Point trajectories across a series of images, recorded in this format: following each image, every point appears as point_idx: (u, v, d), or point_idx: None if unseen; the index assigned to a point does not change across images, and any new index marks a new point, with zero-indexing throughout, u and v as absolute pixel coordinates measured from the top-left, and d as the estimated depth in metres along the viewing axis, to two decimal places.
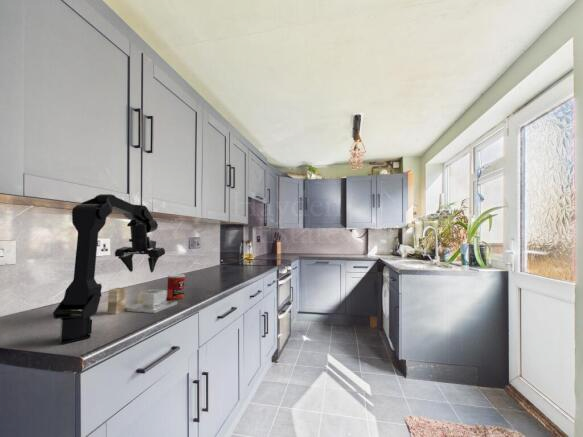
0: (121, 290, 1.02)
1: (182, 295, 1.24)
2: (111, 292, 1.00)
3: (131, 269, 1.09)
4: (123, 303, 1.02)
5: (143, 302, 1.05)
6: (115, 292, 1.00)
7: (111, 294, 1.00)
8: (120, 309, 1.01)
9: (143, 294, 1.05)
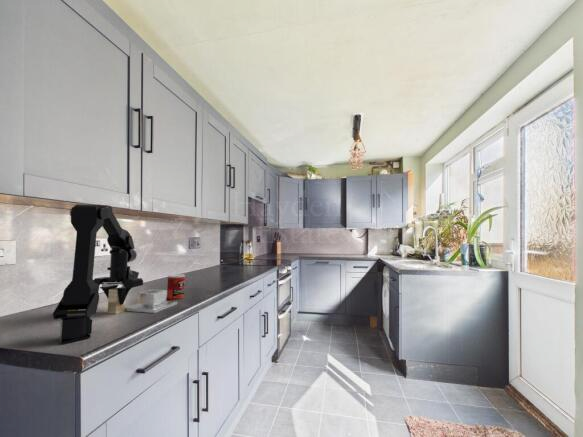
0: None
1: (182, 295, 1.24)
2: (111, 292, 1.00)
3: None
4: (123, 303, 1.02)
5: (143, 302, 1.05)
6: (115, 292, 1.00)
7: (111, 294, 1.00)
8: (120, 308, 1.01)
9: (143, 294, 1.05)
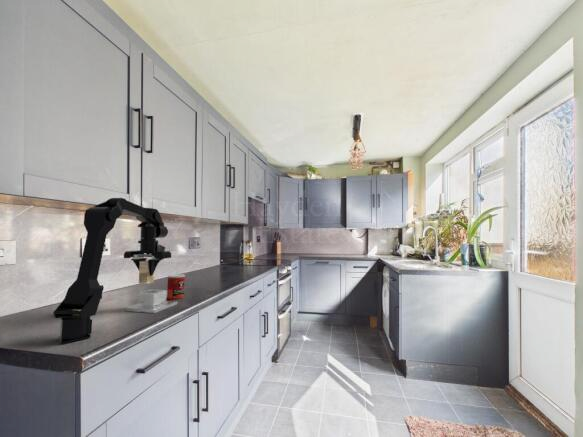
0: None
1: (182, 295, 1.24)
2: (142, 263, 1.07)
3: None
4: (153, 274, 1.09)
5: (143, 302, 1.05)
6: (146, 263, 1.07)
7: (142, 265, 1.07)
8: (150, 279, 1.08)
9: (143, 294, 1.05)
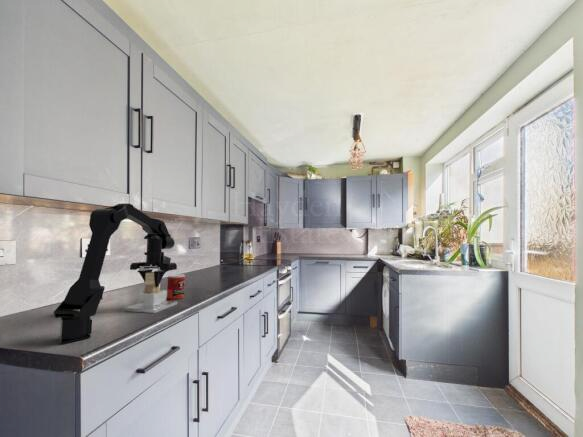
0: None
1: (182, 295, 1.24)
2: (148, 275, 1.08)
3: None
4: None
5: (143, 302, 1.05)
6: (152, 275, 1.07)
7: (148, 277, 1.07)
8: (156, 291, 1.08)
9: (143, 294, 1.05)
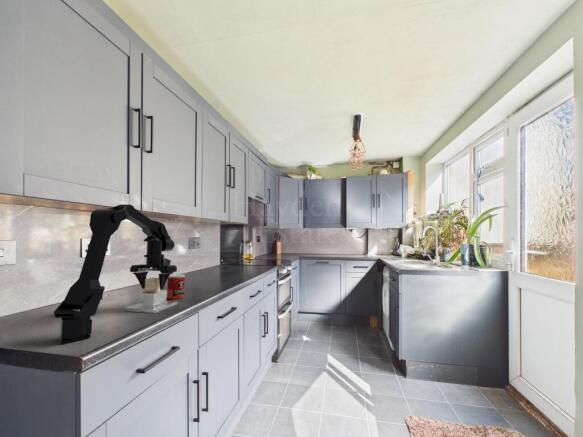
0: (156, 279, 1.09)
1: (182, 295, 1.24)
2: (148, 281, 1.07)
3: (144, 286, 1.10)
4: None
5: (143, 302, 1.05)
6: (151, 281, 1.07)
7: (148, 283, 1.07)
8: None
9: (143, 294, 1.05)
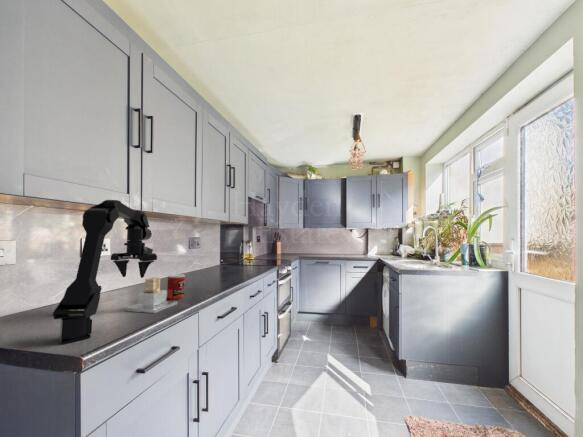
0: (156, 279, 1.09)
1: (182, 295, 1.24)
2: (148, 281, 1.07)
3: (124, 274, 1.10)
4: None
5: (143, 302, 1.05)
6: (151, 281, 1.07)
7: (148, 283, 1.07)
8: None
9: (143, 294, 1.05)
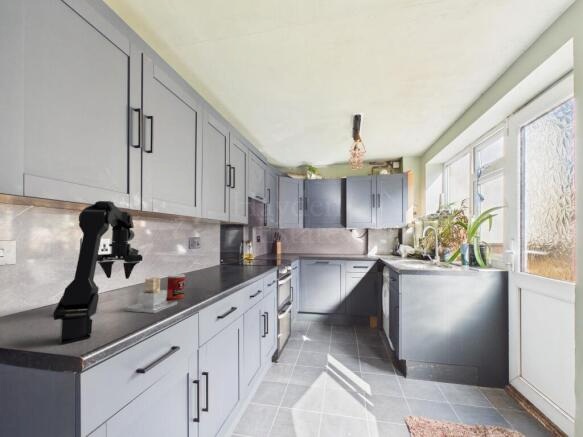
0: (156, 279, 1.09)
1: (182, 295, 1.24)
2: (148, 281, 1.07)
3: (109, 275, 1.10)
4: None
5: (143, 302, 1.05)
6: (151, 281, 1.07)
7: (148, 283, 1.07)
8: None
9: (143, 294, 1.05)
